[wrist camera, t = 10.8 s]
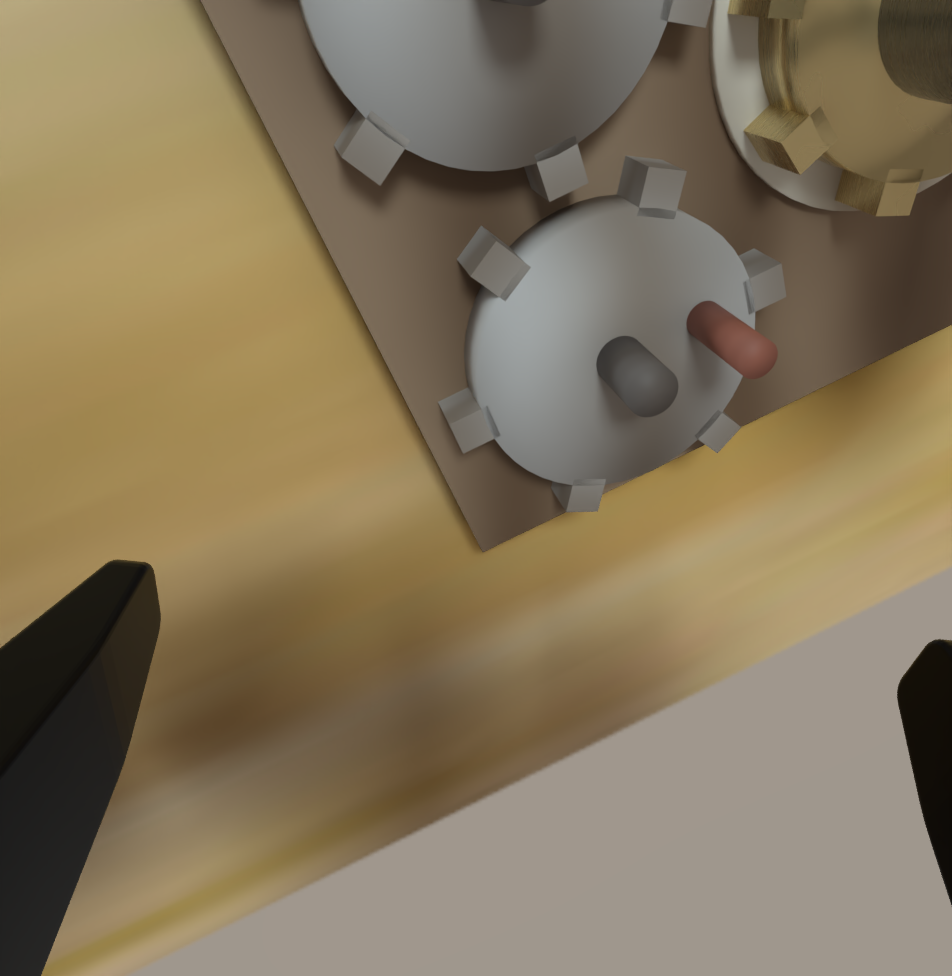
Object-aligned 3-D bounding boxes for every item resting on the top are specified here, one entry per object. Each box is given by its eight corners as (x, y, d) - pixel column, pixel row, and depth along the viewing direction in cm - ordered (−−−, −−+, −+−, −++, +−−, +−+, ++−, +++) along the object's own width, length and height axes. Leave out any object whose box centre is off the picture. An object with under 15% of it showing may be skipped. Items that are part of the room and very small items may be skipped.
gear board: (469, 522, 24) (521, 639, 20) (107, -190, 14) (60, -251, 10) (1017, 255, 24) (1183, 317, 20) (1052, -650, 14) (1402, -903, 10)
